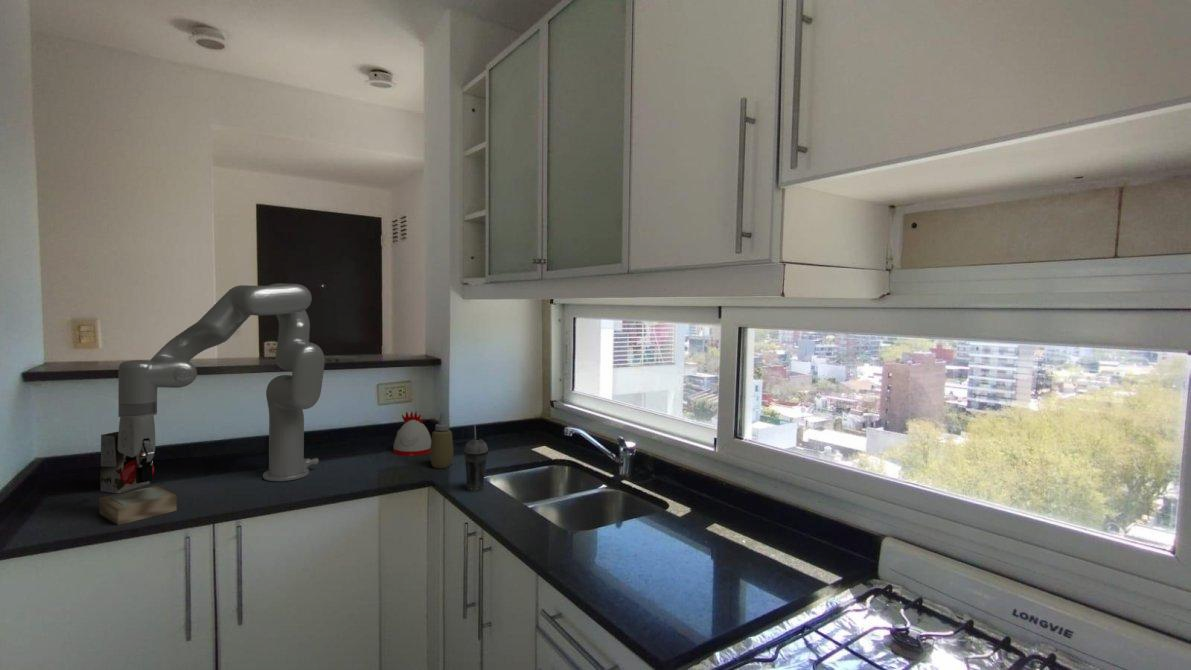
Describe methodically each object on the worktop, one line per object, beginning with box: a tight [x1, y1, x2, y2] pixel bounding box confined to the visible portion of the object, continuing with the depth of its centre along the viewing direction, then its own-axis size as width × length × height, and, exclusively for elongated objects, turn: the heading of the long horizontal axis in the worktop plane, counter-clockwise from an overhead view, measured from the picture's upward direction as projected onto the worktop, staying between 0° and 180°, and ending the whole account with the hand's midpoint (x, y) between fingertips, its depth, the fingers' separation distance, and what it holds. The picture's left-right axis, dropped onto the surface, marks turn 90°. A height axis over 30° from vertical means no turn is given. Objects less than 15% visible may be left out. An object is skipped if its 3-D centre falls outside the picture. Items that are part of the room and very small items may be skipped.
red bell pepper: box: [120, 458, 155, 485], centre depth 140 cm, size 8×6×6 cm
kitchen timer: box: [392, 411, 432, 457], centre depth 207 cm, size 14×14×15 cm
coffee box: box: [100, 430, 150, 494], centre depth 157 cm, size 9×6×16 cm
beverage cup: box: [463, 424, 489, 493], centre depth 167 cm, size 7×7×20 cm
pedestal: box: [98, 485, 178, 526], centre depth 141 cm, size 12×12×4 cm
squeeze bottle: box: [428, 413, 455, 469], centre depth 189 cm, size 8×8×18 cm
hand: (137, 478), depth 140 cm, fingers closed on red bell pepper, 7 cm apart
